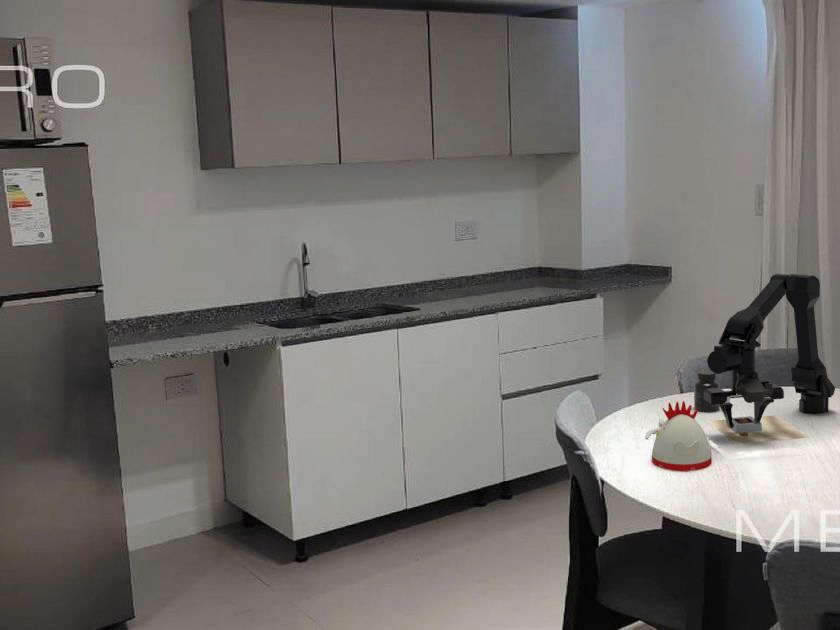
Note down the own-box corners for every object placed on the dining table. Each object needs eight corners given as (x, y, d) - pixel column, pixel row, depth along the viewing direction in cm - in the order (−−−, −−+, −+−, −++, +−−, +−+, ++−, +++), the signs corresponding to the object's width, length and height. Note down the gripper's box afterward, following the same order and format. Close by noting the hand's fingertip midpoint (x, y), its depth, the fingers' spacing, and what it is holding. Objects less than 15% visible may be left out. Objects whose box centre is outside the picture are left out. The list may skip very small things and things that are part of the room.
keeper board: (774, 420, 257) (774, 399, 256) (810, 442, 237) (810, 420, 236) (705, 426, 255) (705, 405, 254) (735, 449, 236) (735, 426, 235)
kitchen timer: (646, 453, 237) (645, 395, 234) (702, 451, 236) (702, 392, 234) (659, 472, 223) (657, 410, 221) (718, 469, 223) (717, 407, 220)
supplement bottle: (721, 417, 263) (720, 375, 260) (695, 417, 264) (694, 375, 262) (718, 410, 269) (718, 369, 267) (693, 411, 271) (692, 369, 268)
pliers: (645, 434, 248) (647, 418, 262) (645, 440, 248) (647, 423, 263) (684, 435, 245) (684, 418, 260) (684, 441, 246) (684, 424, 260)
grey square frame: (750, 423, 245) (750, 416, 244) (761, 431, 238) (761, 423, 238) (726, 425, 244) (726, 418, 244) (736, 433, 238) (736, 425, 238)
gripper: (719, 377, 230) (720, 439, 233) (794, 370, 231) (794, 432, 234) (702, 366, 241) (703, 426, 244) (774, 360, 242) (774, 420, 245)
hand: (743, 426), depth 241 cm, fingers closed on grey square frame, 6 cm apart
